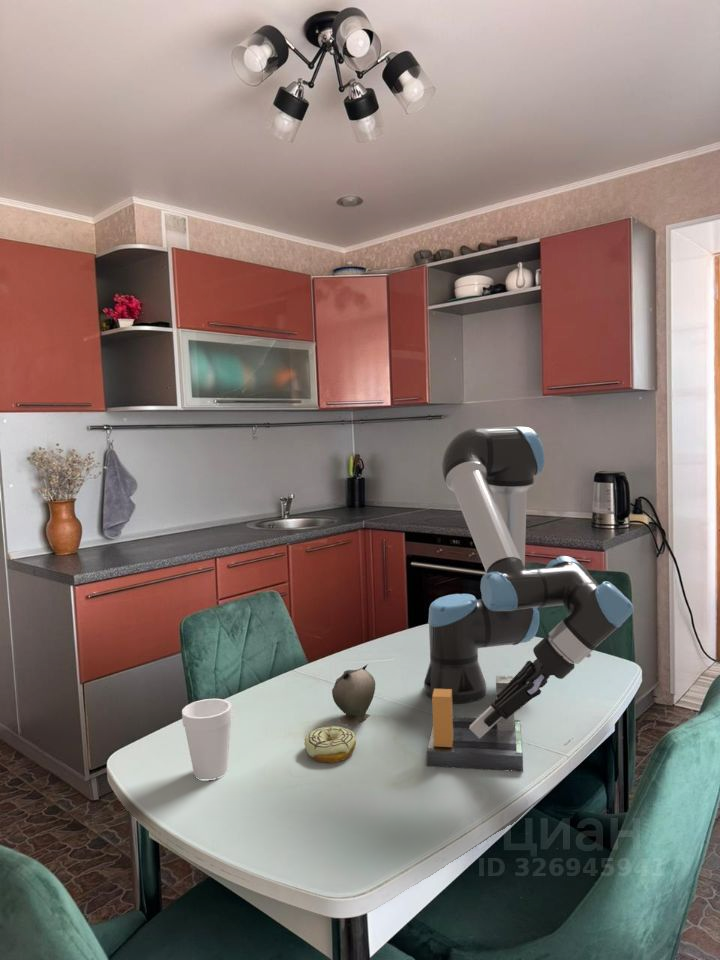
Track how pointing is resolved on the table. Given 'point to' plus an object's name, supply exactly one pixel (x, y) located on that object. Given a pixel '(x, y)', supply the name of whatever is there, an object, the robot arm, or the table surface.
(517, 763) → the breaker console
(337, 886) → the table surface
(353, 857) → the table surface
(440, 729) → the handle
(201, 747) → the foam cup
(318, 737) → the decorated donut
